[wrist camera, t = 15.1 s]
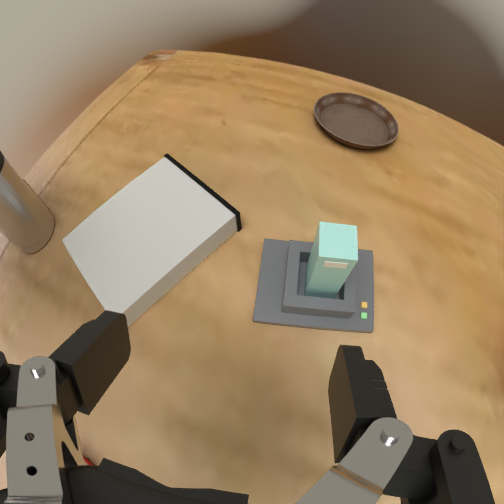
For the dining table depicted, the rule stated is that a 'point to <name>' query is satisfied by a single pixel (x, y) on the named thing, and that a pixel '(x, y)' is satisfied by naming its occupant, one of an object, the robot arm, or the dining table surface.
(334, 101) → the plant saucer
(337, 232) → the plug
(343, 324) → the port block
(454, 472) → the robot arm
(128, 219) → the disc drive
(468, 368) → the dining table surface
